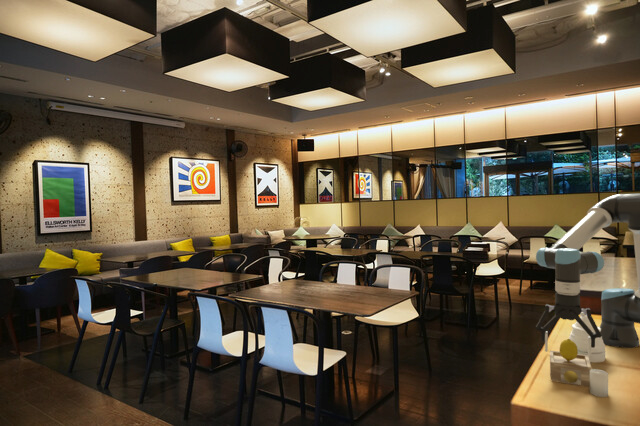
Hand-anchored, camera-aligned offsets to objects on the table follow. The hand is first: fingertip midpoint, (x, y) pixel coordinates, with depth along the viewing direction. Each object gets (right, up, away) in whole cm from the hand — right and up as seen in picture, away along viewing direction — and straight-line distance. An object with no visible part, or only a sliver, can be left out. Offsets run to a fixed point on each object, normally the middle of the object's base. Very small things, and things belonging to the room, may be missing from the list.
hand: (567, 353), depth 150 cm
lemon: (+1, -3, +1) cm, 3 cm away
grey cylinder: (+3, -9, -12) cm, 15 cm away
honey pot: (+19, -8, +20) cm, 28 cm away
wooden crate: (+1, -9, +1) cm, 9 cm away
